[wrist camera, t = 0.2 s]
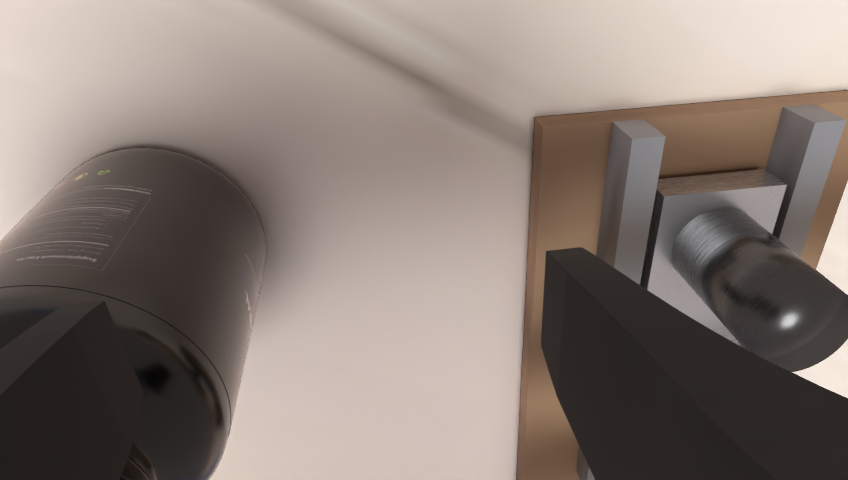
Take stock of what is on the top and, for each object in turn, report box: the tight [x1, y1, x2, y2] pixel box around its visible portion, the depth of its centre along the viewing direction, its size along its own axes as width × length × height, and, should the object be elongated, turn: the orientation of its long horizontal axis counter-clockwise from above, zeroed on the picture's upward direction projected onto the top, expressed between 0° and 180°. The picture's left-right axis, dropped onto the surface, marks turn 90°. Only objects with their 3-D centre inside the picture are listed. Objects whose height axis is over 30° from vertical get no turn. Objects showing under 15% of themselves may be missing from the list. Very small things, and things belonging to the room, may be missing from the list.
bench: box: [516, 90, 848, 480], centre depth 22 cm, size 20×11×4 cm, turn 3°
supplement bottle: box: [0, 148, 266, 480], centre depth 14 cm, size 7×7×12 cm
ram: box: [640, 169, 848, 372], centre depth 19 cm, size 7×4×6 cm, turn 3°
